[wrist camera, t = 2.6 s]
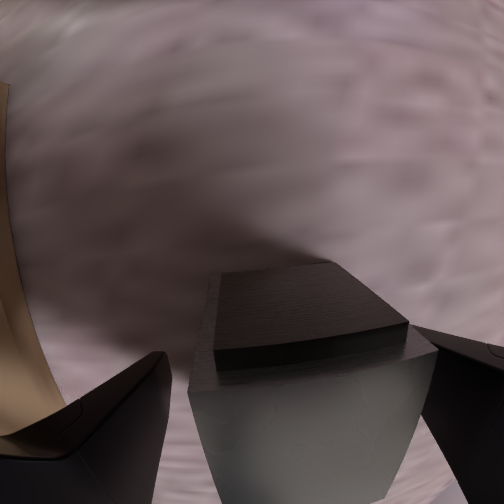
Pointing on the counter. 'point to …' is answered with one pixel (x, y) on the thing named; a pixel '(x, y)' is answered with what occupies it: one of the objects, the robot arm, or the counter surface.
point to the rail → (18, 330)
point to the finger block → (305, 386)
